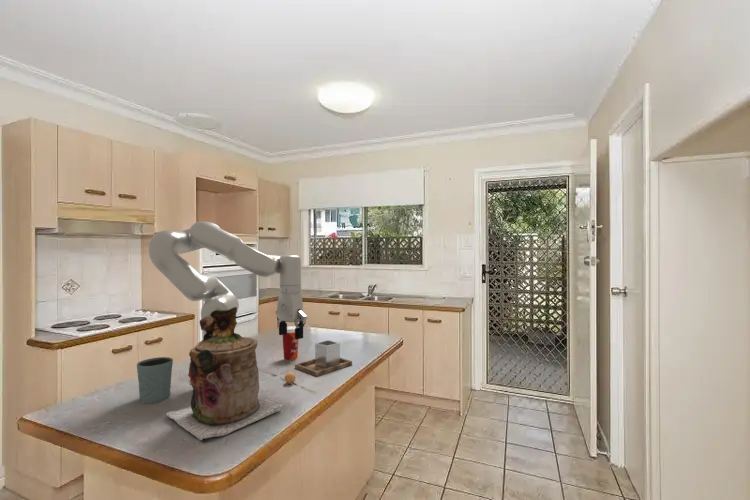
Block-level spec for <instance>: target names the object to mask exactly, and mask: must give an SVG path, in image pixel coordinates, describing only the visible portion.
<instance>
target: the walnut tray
mask: <svg viewBox="0 0 750 500" xmlns="http://www.w3.org/2000/svg"><path fill="white" fill-rule="evenodd" d="M352 365H353V360H350V359H346V358H342V357H340V364H338V365H335V366H332V367H329V368H326V369H324V368H321V367H318V366H316V365H315V358H312V359H308V360H305V361H302V362H299V363H298V362H297V363H295V364H294V369H296V370H299V371H301V372H304V373H307V374H309V375H312V376H314V377H319V376H323V375H326V374H329V373H331V372H334V371H337V370H341V369H344V368H347V367H350V366H352Z"/></svg>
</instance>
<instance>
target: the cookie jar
mask: <svg viewBox="0 0 750 500" xmlns="http://www.w3.org/2000/svg"><path fill="white" fill-rule="evenodd" d="M237 313H238V311H237V307H233V308H231V309H229V310H215V311H213V312H211V314H210V316H207V317H205V318H202V319H201V318H200V320H199V327H200V330H201V331H203V330H204V331H206V334H205V335H204V337H203V336H202V338H204V339H201V341H199V342H198V343H197V344H196V345H195V346H194V347H192V348H191V349H190V351H189V353H188V355H189V357H190V359H189V360H190V363H189V367H188V373H187V374H188V375H187V377H189V380H190V383H191V384H192V385H191V387H192V394H191V398H190V402H189V404H190V406H189V407H186V408H181V409H179V410H173V411H172V410H171V411H168V412H166V416H167V417H168V418H169V419H171V420H173V421H174V422H176V423H177V425H179V426H180V427H182V428H183V429H184V430H186V431H187V432H188V433H190V434H191V435H192V436H194V437H195V438H197V439H198V440H199V441H203V439H208V438H214V437H223V436H227V435H228V434H230V433H232V432H234V431H236V430H239V429H241V428H244V427H246V426H249V425H250V424H252V423H255V422H256V421H260V420H262V419H263V418H266V417H268V416H270V415H273V414H275V413H279V412H281V411H282V410H281V409H282V407H283V405H284V404H282V403H278V402H277V401H272V400H270V399H267V398H263V397H261V396H259V393H260V379H259V378H260V377H259V368H258V363H257V362H258V361H257V356H256V355H257V354H256V349H257V347H258V340H257V339H256V338H253V337H247V336H241V334H239V333H236V332H235V330H236V325H237V324H238V321H237Z"/></svg>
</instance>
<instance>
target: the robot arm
mask: <svg viewBox="0 0 750 500" xmlns="http://www.w3.org/2000/svg"><path fill="white" fill-rule="evenodd" d="M200 249H207V250H208V251H211V252H213V253H215V254H217V255H220V256H221V257H223V258H225V259H227V260H228V261H230V262H231V263H233V264H235V265H237V266H238V267H240V268H242V269H244V270H246V271H248V272H250V273H252V274H255V275H256V276H259V277H262V278H263V277H264V278H268V277H270V276H271V277H272V276H275V275H276V276H277V275H279V293H278V298H277V307H276V308H277V309H276V310H275V315H276V319H277V324H278V335H279V336H282V335H284V334H287V327H288V323H293V324H294V326H296V328H295V339H296V340H297V339H298V340H301V339H304V327H305V325H306V323H307V322H306V321H307V319H308V315H306V314H305V313H304V303H303V297H302V259H301V257H300V256H299V255H293V254H292V255H291V254H289V255H288V254H287V255H276V254H265V253H263V252H261V251H258V250H256V249H254V248H252V247H251V246H249V245H248V244H246V243H245V242H244V241H243V240H242V238H240V237H239V236H237V235H235V234H233V233H230V232H228V231H226V230H225V229H222V228H221V227H220V226H219V225H218V224H216V223H215V222H211V221H205V220H203V221H202V220H201V221H196V222H195V223H193V224H191V226H190V228H188V229H183V230H171V229H165V230H161V231H157V232H156V233H155V234H153V236H152V237H151V238H150V241H149V243H148V255H149V259H150V261H151V262H152V264H153V265H154V267H155V268H156V269H157V270H158V271H159V272H160V273H161V274H162V275H164V277H165V278H166V279H167V280H169V282H170V284H172V285H173V286H174V287H175V289H177V290H178V291H179V292H180V294H182V295H183V296H184V297H185V298H186V299H188V300H189V301H191V302H200V301H203V305H202V306H201V310H200V320H201V319H202V318H205V317H207V316H210V314H211V312H213V311H215V310H229V309H231V308H233V307H237V312H238V310H239V307H240V305H239V300H238V298H237V297H236V295H235V294H234V293H233V292H232V291H231V290H230V289H229V288H228V287H227V286H226V285H225V284H224V283H223V282H222V281H220V279H219V278H217V276H215V275H213V274H210V273H208V272H206V273H205V272H203V273H202V272H201V273H200V272H199V271H198V270H196V269H195V268H194V267H193V266H192V264H190V262H188V261H187V260H186V259H184V258H183V257H181V255H182V254H187V253H191V252H193V251H198V250H200ZM286 322H287V323H286ZM202 332H203V333H202V338H203V337H204V335H205V334H206V331H204V330H202ZM203 339H204V338H203ZM203 339H202V340H203ZM188 384H189V386H192V384H191V383H190V379H189V380H188Z"/></svg>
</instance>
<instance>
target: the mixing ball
mask: <svg viewBox="0 0 750 500" xmlns="http://www.w3.org/2000/svg"><path fill="white" fill-rule="evenodd" d="M284 381H285V382H286V383H287V384H292V383H294V382H295V381H296V375H295V373H294V372H292V371H289V372H287V373H285V376H284Z"/></svg>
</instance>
